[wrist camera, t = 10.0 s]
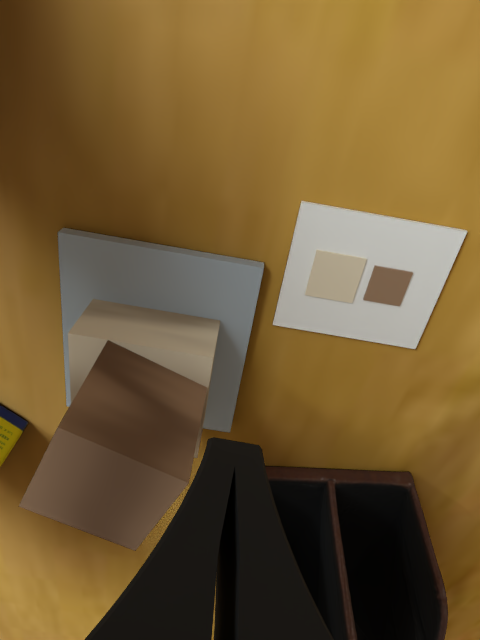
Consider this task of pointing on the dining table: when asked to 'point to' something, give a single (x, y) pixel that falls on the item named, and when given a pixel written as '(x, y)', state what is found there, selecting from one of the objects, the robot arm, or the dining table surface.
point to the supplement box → (9, 431)
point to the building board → (165, 298)
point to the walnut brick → (120, 449)
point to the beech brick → (144, 342)
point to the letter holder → (363, 551)
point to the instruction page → (364, 274)
